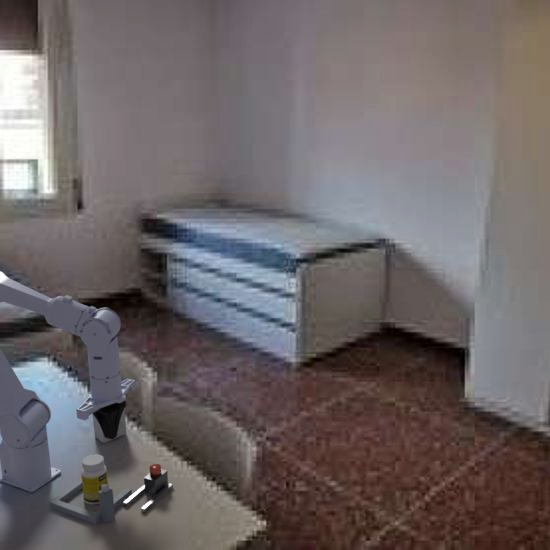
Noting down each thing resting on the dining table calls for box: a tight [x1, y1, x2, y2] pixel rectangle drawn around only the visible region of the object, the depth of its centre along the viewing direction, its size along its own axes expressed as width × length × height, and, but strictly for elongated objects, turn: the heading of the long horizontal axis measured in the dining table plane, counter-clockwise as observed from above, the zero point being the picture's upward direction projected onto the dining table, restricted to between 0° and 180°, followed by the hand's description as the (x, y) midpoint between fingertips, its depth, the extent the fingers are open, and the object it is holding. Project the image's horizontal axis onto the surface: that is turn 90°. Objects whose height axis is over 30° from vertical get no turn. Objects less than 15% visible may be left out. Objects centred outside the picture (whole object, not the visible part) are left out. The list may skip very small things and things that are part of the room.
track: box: [122, 482, 174, 514], centre depth 130 cm, size 5×9×1 cm, turn 153°
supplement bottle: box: [80, 453, 109, 506], centre depth 129 cm, size 5×5×8 cm
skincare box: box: [89, 389, 127, 444], centre depth 151 cm, size 6×4×12 cm
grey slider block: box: [143, 463, 169, 497], centre depth 132 cm, size 3×4×5 cm, turn 153°
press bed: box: [48, 477, 133, 525], centre depth 128 cm, size 13×10×7 cm
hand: (110, 436), depth 132 cm, fingers closed
